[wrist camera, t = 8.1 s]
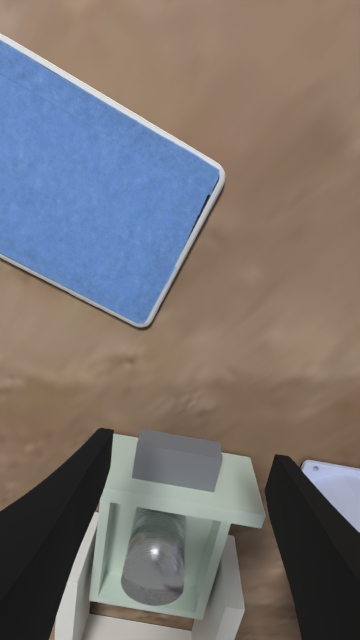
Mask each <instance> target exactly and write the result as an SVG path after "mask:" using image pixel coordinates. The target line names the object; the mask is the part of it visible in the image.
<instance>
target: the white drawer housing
mask: <svg viewBox="0 0 360 640" xmlns="http://www.w3.org/2000/svg"><path fill="white" fill-rule="evenodd" d="M98 516H99V513H98V512H94V515H93V517H92V520H91V522H90V524H89V527H88V529H87V531H86V534H85V536H84V539H83V541H82V543H81V546H80V548H79V551H78V553H77V556H76V558H75V561H74V564H73V567H72V570H71V573H70V576H69V579H68V582H67V585H66V588H65V591H64V594H63V597H62V600H61V603H60V606H59V609H58V612H57V615H56V625H55V640H234V639H235V636H236V634H237V631H238V628H239V625H240V622H241V620H242V617H243V614H244V611H245V607H244V600H243V593H242V586H241V579H240V572H239V565H238V559H237V552H236V545H235V538H234V536H231V535H227V539H226V542H225V545H224V549H223V552H222V556H221V559H220V562H219V566H218V569H217V572H216V576H215V579H214V582H213V586H212V589H211V592H210V596H209V599H208V602H207V606H206V609H205V612H204V616H203V619H202V620H199V619H194V623H193V626H192V630H191V631H189V630H183V629H177V628H171V627H165V626H159V625H154V624H148V623H142V622H136V621H130V620H124V619H119V618H113V617H107V616H101V615H95V614H89V611H90V602H91V601H89V594H90V586H91V577H92V568H93V560H94V551H95V542H96V533H97V525H98Z"/></svg>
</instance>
